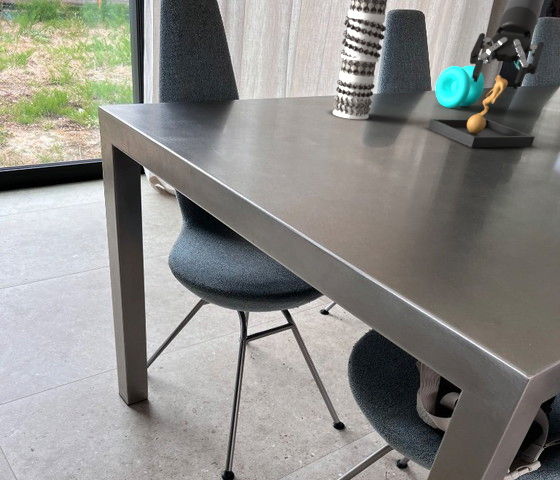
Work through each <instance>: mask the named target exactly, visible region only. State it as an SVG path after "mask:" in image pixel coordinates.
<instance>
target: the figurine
mask: <svg viewBox="0 0 560 480" xmlns="http://www.w3.org/2000/svg"><path fill="white" fill-rule="evenodd" d="M494 80H495V83H494V85H493V88H492V89H490V90H489V92H488V93H486V95H485V97H486V98H484V99H483V100H482V105H483V108H484V109H483V110H482V111H481V112H478V113H476V114H473V115H471V116H470V117H469V118H468V119H469V120H468V122H467V129H468V130H469V132H471V133H473V134H477V133H480V132H481V131H482V130H483V129H484V128H485V125H486V120H487V119H486V118H485V115H486V114H487V113H488V112H489V110H490V107H489V104H494V103H495V102H496V101H497V98H499V97H500V96H501V95H502V93H503V91H504V90H505V89H506V88H507V86H508V84H509V82H508V80H507V79H505V78H503V77H502V76H501V75H500V74H498V75H497V76H496V77H495V78H494Z"/></svg>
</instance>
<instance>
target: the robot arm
mask: <svg viewBox="0 0 560 480" xmlns="http://www.w3.org/2000/svg"><path fill="white" fill-rule="evenodd" d="M544 1H545V0H508V2H507V4H506V6H505V8H504V11H503V13H502V15H501V19H500V21H499V24H498V26H497V29H496V32H495V34H494V35H493V36H492V37H487V36H486V34H485V33H484V32H481V33H480V34H478V37H477V39H476V40H475V41H476V42H475V44H474V46H473V48H472V50H471V52H470V56H469V64H470V65H474V67H475V68H474V70H473V75H472V78H473V79H474V81H475V82H477V81H478V78H479V76H480V73H482V70H483V67H484V66H486V65H487V64H491V63H492V62H494V61H495V60H496V62H505V63H508V64H512V63H513V64H514V66H515V68H516V69H517V70H518V72H517V74H516V77H515V80H514V84H513V87H512V89H515V90H518V88H520V87H521V86H522V85H523V82H524V79H525V78H526V75H528V74H530V75H536V73H537V70H538V66H539V62H540V59H541V56H542V52H543V49H544V45H545V43H544V42H543V41H539V42H538V43H537V44H534V43H533V44H532V43H531V40H532V37H533V35H534V32H535V29H536V27H537V25H538V22H539V19H540V16H541V12H542V8H543V4H544ZM487 46H489V47H488V48H487V49H486V50H485V51H484V52H483V53H481V51H482V50H484V49H485V48H486V47H487ZM529 52H530V55H531V57H532V58H533V60H532V63H529V62H528V60H527V57H526V55H527V54H528V53H529Z"/></svg>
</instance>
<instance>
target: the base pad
mask: <svg viewBox="0 0 560 480" xmlns="http://www.w3.org/2000/svg"><path fill="white" fill-rule="evenodd" d="M468 120H469V118H467V119H461V118H447V119H446V118H430V119H429V123H428V128H427V129H428V130H430V131H431V132H435V133H437V134H439V135H441V136H444V137H446V138H448V139H450V140H452V141H455V142H457V143H460V144H462V145H464V146H466V147H468V148H471V149H473V148H478V149H479V148H480V149H481V148H525V147H526V148H528V147H530V148H531V147H532V146H533V144H534V141H535V137H536V136H535V135H531V134H528V133H525V132H523V131H521V130H518V129H516V128H513V127H510V126H507V125H504V124H502V123H499V122H496V121H493V120H491V119H485V120H486V125H485V128H484V129H483V130H482V131H481V132H480V133H477V134H473V133H471V132H469V130H468V129H467V122H468Z"/></svg>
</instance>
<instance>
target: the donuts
mask: <svg viewBox="0 0 560 480" xmlns="http://www.w3.org/2000/svg"><path fill="white" fill-rule="evenodd" d="M474 68H475V65H465V66H462V67H461V66H458V65H453V66H448V67H447V68H445V69H443V71H442V72H441V73H440V74H439V76H438V77H437V80H436V83H435V87H434V88H435V89H434V90H435V96H436V99H437V101H438V103H439V104H440V105H441V106H443V107H445V108H448V109H453V108H457V107H469V106H473V105H474V104H475V103H477V101H478V100H479V99H480V98H481V96H482V95H483V92H484V90H485V89H484V88H485V78H484V74H483V72H481V73H480V76H479V78H478V81H477V82H475V81H474V79H473V78H472V75H473V70H474Z"/></svg>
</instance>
